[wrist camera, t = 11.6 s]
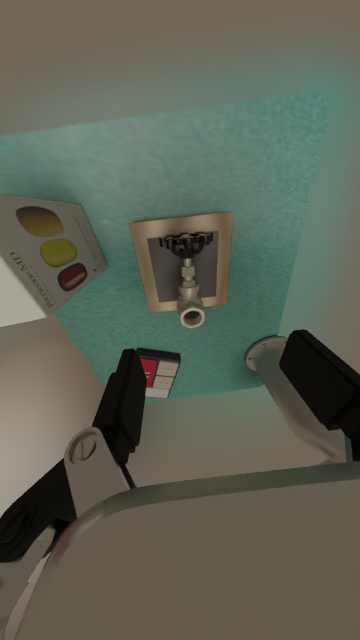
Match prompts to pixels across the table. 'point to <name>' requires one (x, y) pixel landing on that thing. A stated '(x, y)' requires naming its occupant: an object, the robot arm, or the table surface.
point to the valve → (188, 275)
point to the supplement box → (43, 256)
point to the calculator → (159, 371)
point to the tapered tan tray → (165, 267)
